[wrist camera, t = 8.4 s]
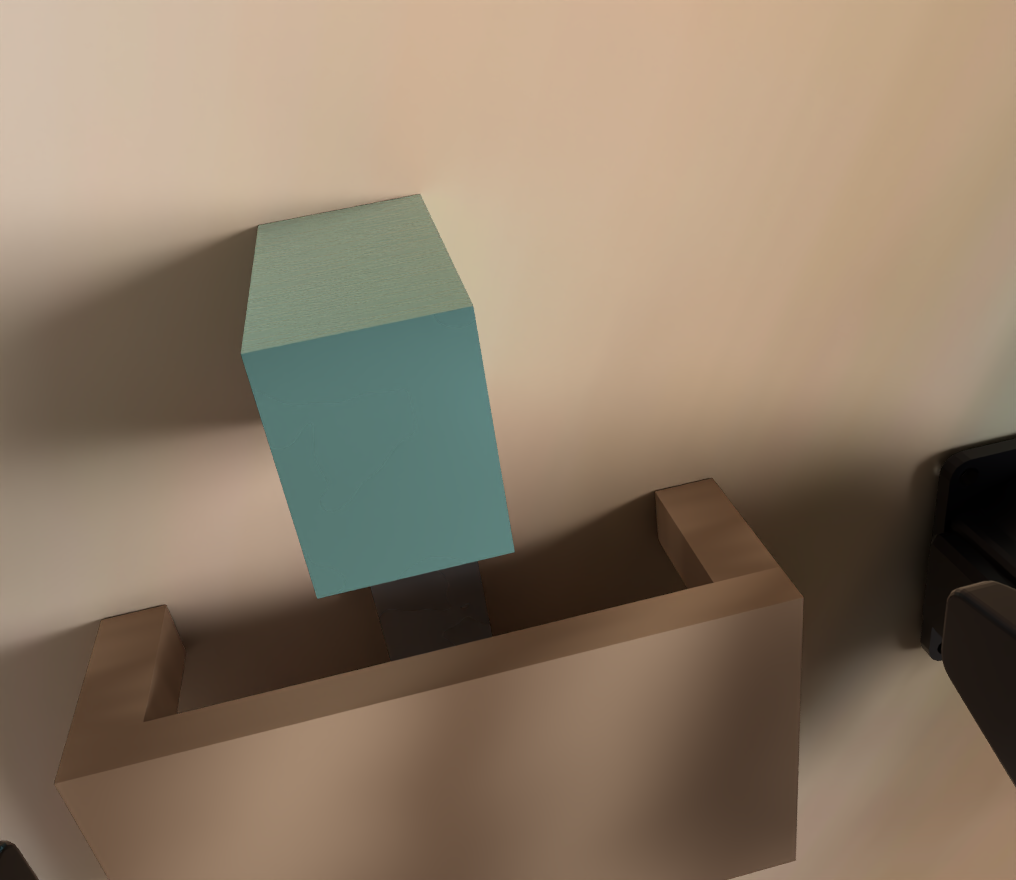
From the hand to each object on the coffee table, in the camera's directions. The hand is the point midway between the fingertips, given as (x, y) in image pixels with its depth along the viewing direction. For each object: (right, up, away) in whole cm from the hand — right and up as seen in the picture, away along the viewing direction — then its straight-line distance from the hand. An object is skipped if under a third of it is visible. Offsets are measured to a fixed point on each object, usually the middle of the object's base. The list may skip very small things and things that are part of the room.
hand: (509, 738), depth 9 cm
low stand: (-2, -3, +14) cm, 14 cm away
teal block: (-2, 0, +12) cm, 12 cm away
